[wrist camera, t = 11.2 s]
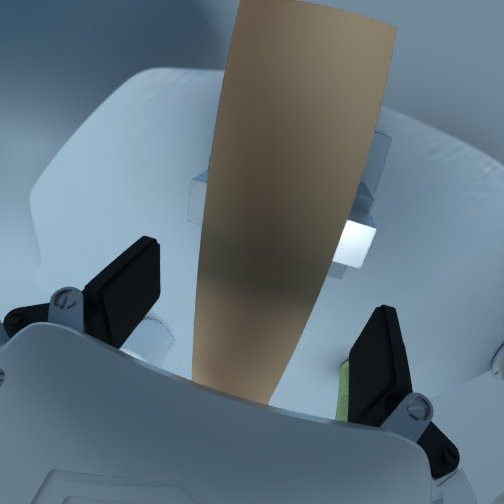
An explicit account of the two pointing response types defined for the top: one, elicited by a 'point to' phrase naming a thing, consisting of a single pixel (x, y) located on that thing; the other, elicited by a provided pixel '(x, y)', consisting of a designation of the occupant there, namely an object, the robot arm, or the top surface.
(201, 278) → the walnut bar
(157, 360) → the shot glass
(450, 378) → the top surface
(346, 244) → the stand
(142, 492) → the robot arm
